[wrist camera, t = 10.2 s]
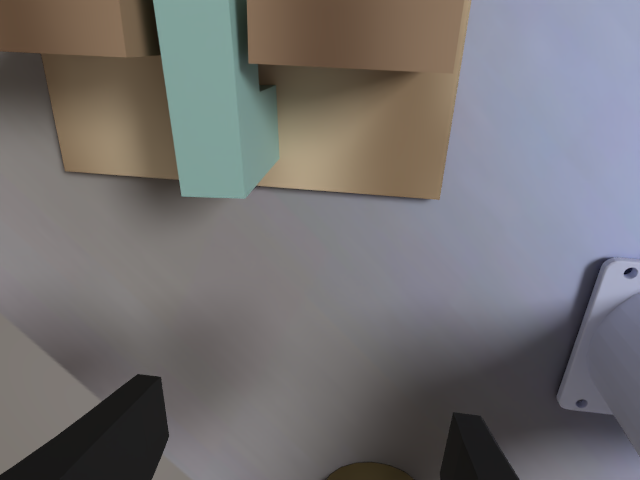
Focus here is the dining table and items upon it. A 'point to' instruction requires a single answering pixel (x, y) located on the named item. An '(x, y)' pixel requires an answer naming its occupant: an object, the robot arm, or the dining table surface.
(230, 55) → the mint green block
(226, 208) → the dining table surface
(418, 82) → the slotted board
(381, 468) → the olive pawn
